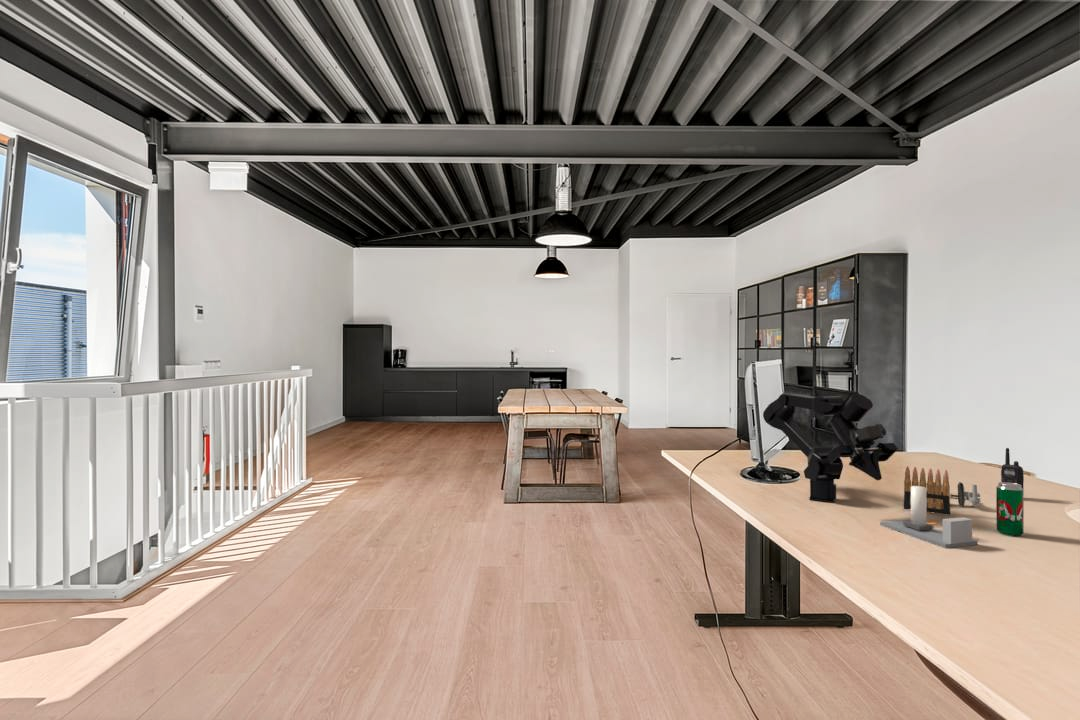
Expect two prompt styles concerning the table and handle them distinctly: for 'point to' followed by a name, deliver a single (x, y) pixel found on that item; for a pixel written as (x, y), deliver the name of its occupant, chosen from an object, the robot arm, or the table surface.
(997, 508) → the soda can
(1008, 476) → the two-way radio
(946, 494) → the ammunition clip
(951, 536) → the gauge board
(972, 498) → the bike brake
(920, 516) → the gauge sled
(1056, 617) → the table surface
